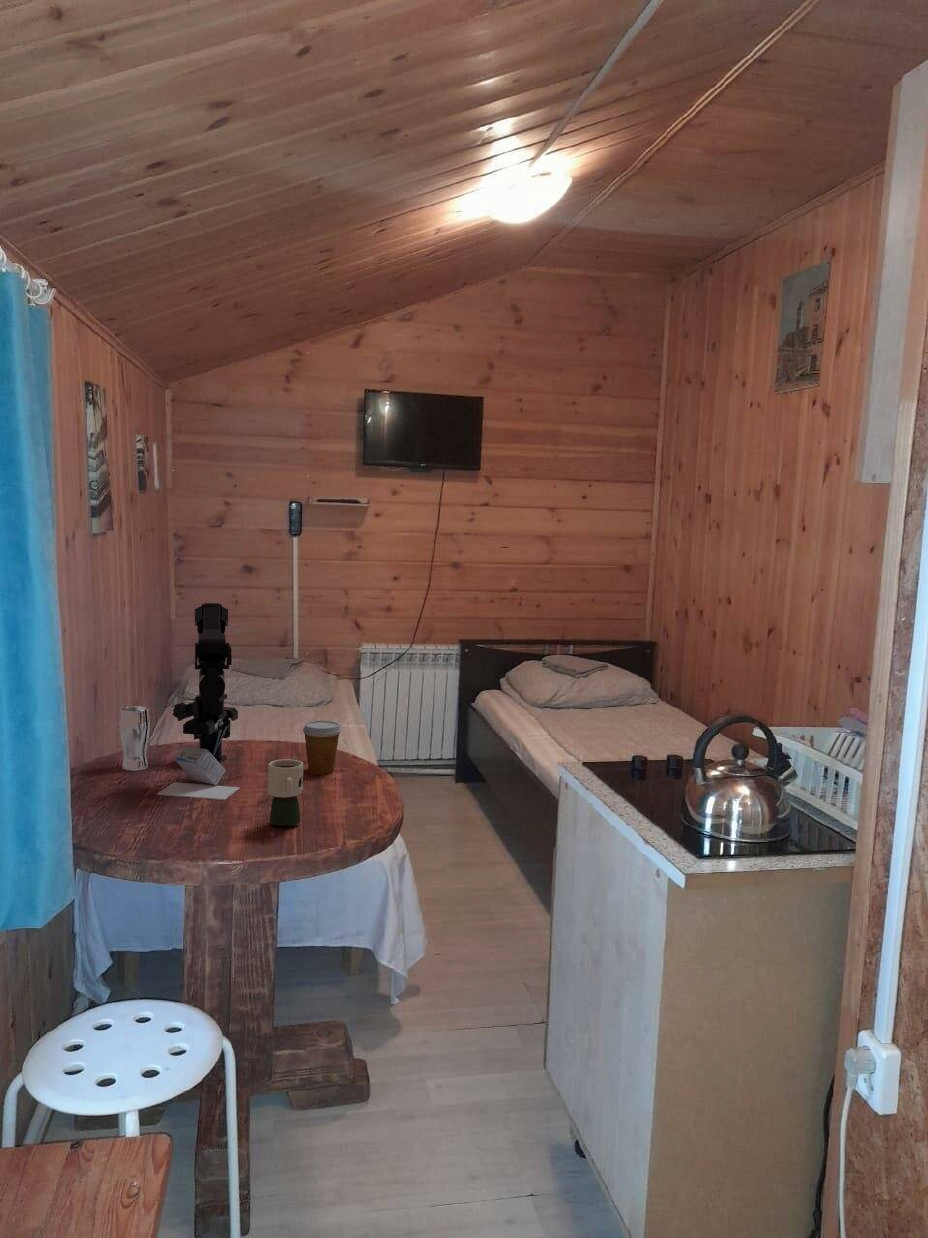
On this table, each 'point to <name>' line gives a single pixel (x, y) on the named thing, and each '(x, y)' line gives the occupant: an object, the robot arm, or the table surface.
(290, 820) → the character mug
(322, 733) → the disposable coffee cup
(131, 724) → the beer glass
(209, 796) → the mat
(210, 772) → the medicine box
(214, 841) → the table surface
